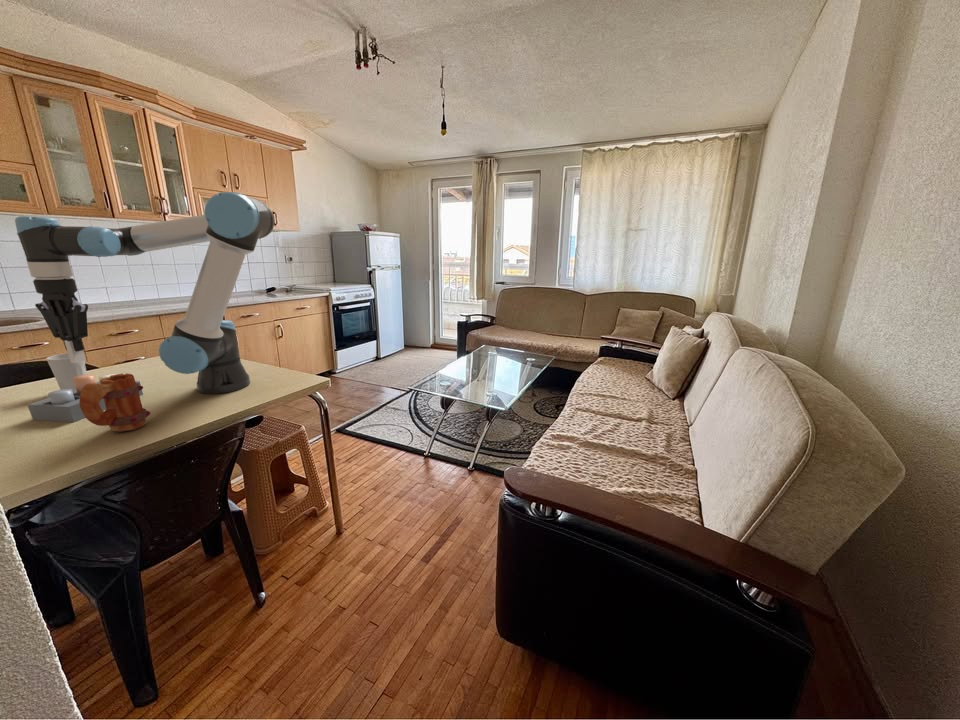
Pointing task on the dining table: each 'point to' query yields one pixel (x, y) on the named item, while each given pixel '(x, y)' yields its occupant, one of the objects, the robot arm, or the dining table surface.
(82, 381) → the button terracotta
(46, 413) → the grey tray
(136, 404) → the mug
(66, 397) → the button slate
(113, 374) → the button ivory
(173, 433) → the dining table surface
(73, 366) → the cup
